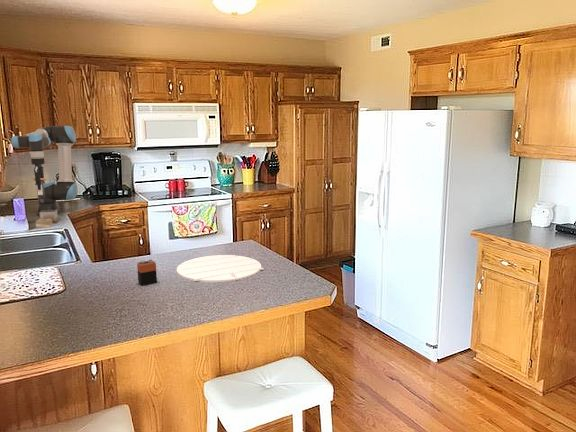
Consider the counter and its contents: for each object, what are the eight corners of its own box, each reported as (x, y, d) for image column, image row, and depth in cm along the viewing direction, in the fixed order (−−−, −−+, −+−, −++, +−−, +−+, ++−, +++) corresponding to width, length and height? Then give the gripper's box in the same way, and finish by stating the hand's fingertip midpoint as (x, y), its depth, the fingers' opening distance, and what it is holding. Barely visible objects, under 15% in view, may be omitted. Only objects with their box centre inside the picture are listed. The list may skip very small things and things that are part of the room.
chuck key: (36, 202, 309) (33, 177, 306) (49, 202, 311) (46, 177, 308) (35, 203, 305) (32, 178, 302) (47, 203, 307) (45, 178, 304)
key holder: (39, 225, 314) (38, 219, 313) (52, 224, 316) (51, 218, 315) (36, 227, 306) (35, 221, 306) (49, 227, 308) (49, 221, 307)
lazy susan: (276, 274, 215) (276, 267, 214) (193, 289, 196) (193, 281, 195) (240, 253, 249) (240, 247, 248) (166, 264, 230) (166, 257, 229)
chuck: (42, 220, 329) (41, 209, 327) (60, 219, 332) (59, 209, 330) (37, 224, 317) (36, 213, 316) (57, 223, 320) (56, 212, 319)
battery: (138, 283, 202) (136, 260, 200) (153, 280, 206) (152, 257, 204) (141, 286, 199) (140, 263, 197) (157, 282, 202) (156, 260, 200)
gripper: (34, 157, 310) (38, 192, 314) (27, 159, 293) (31, 196, 298) (47, 156, 311) (50, 192, 316) (40, 158, 295) (44, 196, 300)
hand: (41, 194), depth 307 cm, fingers closed on chuck key, 4 cm apart
